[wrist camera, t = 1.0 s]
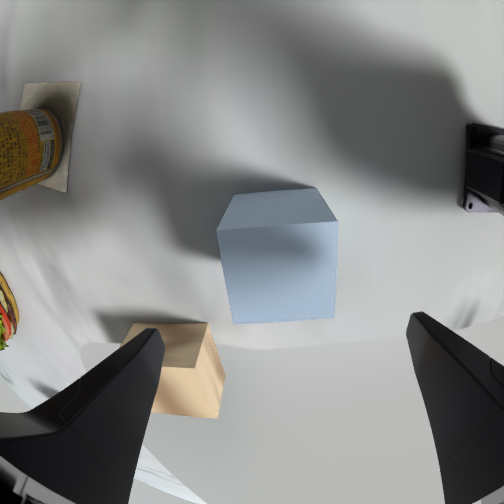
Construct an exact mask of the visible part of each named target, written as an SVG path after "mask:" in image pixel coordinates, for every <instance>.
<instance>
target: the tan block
mask: <svg viewBox="0 0 504 504" xmlns="http://www.w3.org/2000/svg"><path fill="white" fill-rule="evenodd" d="M146 328H157V329H158V330H159V332H160V334H161V336H162V339H163V341H164V344H165V353H164V358H163V364H162V369H161V375H160V380H159V385H158V389H157V392H156V396H155V399H154V402H153V406H152V409H151V412H157V413H164V414H172V415H181V416H191V417H204V418H218V414H219V408H220V403H221V397H222V391H223V386H224V380H225V373H224V370H223V367H222V364H221V361H220V358H219V354H218V351H217V348H216V345H215V344H214V341H213V338H212V334H211V331H210V328H209V324H208V323H133V325H132V327H131V329H130V330H129V332H128V334H127V335H126V337H125V339H124V341H123V342H122V344H121V346H120V347H122V346H123V345H124V344H126V343H127V342H128V341H130V340H131V339H132V338H134V337H135V336H136V335H138V334H139V333H140V332H142V331H143V330H144V329H146Z"/></svg>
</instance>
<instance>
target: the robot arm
mask: <svg viewBox="0 0 504 504" xmlns="http://www.w3.org/2000/svg"><path fill="white" fill-rule="evenodd" d="M472 128H473V132H472ZM466 136H467V152H466V177H465V190H464V200H463V208H464V209H465V210H466V211H467V212H499V213H500V214H502V215H504V130H500V129H496V128H492V127H488V126H484V125H480V124H475V123H468V124H467V127H466ZM469 203H470V206H469V207H468V205H469ZM406 336H407V339H408V344H409V348H410V353H411V357H412V362H413V366H414V370H415V374H416V377H417V380H418V384H419V387H420V390H421V393H422V396H423V400H424V403H425V407H426V410H427V414H428V417H429V421H430V425H431V429H432V433H433V437H434V442H435V446H436V451H437V455H438V461H439V466H440V472H441V478H442V484H443V491H444V499H445V504H472V503H474V502H476V501H478V500H480V499H481V503H482V504H504V366H503V365H501V364H499V363H498V362H497V361H495V360H494V359H493V358H490V357H489V356H488V355H487V354H485V353H484V352H482V351H481V350H479V349H478V348H477V347H475V346H474V345H472V344H471V343H469V342H468V341H466V340H465V339H463V338H462V337H461V336H459V335H457V334H456V333H454V332H453V331H452V330H450V329H449V328H447V327H445V326H444V325H442V324H441V323H439V322H438V321H436V320H435V319H433V318H432V317H430V316H429V315H427V314H426V313H424V312H414V313H412V314H411V316H410V320H409V323H408V327H407V331H406ZM164 353H165V344H164V341H163V339H162V336H161V334H160V332H159V330H158V329H157V328H146V329H144V330H143V331H142V332H140V333H139V334H138V335H136V336H135V337H134V338H132V339H131V340H130V341H128V342H127V343H126V344H124V345H123V346H122V347H120V348H119V349H118V350H116V351H115V352H114V353H112V354H111V355H110V356H108V357H107V358H106V359H104V360H103V361H102V362H100V363H99V364H98V365H96V366H95V367H94V368H92V369H91V370H90V371H88V372H87V373H86V374H84V375H83V376H82V377H81V378H79V379H77V380H76V381H75V382H74V383H72V384H71V385H69V386H68V387H67V388H65V389H64V390H62V391H61V392H59V393H58V394H56V395H55V396H53V397H51V398H50V399H48V400H47V401H45V402H43V403H42V404H40V405H38V406H37V407H35V408H33V409H32V410H30V411H27V412H24V413H4V412H0V504H128V501H129V497H130V492H131V488H132V483H133V478H134V474H135V470H136V466H137V462H138V458H139V454H140V450H141V446H142V442H143V439H144V435H145V431H146V427H147V423H148V420H149V417H150V413H151V409H152V406H153V402H154V399H155V396H156V392H157V389H158V385H159V380H160V375H161V369H162V364H163V358H164Z"/></svg>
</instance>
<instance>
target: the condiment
mask: <svg viewBox="0 0 504 504" xmlns="http://www.w3.org/2000/svg"><path fill="white" fill-rule="evenodd" d="M80 86H81V82H41V83H40V82H39V83H25V85H24V90H23V94H22V101H21V105H20V110H19V111H17V110H16V111H11V112H9V111H8V112H5V113H0V200H2V199H3V198H6V197H7V196H10V195H12V194H14V193H17V192H18V191H20V190H24V189H26V188H27V187H29V186H33V185H35V184H39V185H43V186H46V187H49V188H51V189H54V190H57V191H61V192H64V193H66V190H67V177H68V164H69V158H70V148H71V138H72V126H73V123H74V116H75V112H76V107H77V99H78V93H79V90H80ZM36 104H37V106H36V108H35V105H36ZM63 121H64V123H63Z"/></svg>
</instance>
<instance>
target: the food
mask: <svg viewBox="0 0 504 504" xmlns="http://www.w3.org/2000/svg"><path fill="white" fill-rule="evenodd" d="M18 322H19V314H18V309H17V306H16V303H15V300H14V297H13V295H12V293H11V291H10V289H9V287H8V285H7V284H6V282H5V279H4V278H3V276H2V275H1V274H0V351H1V350H4V349H5V348H4V346H5V347H8V345H6V343H5V341H7V340H8V339H12V337H13V335H14V334H16V329H17V325H18ZM3 345H4V346H3Z"/></svg>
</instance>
